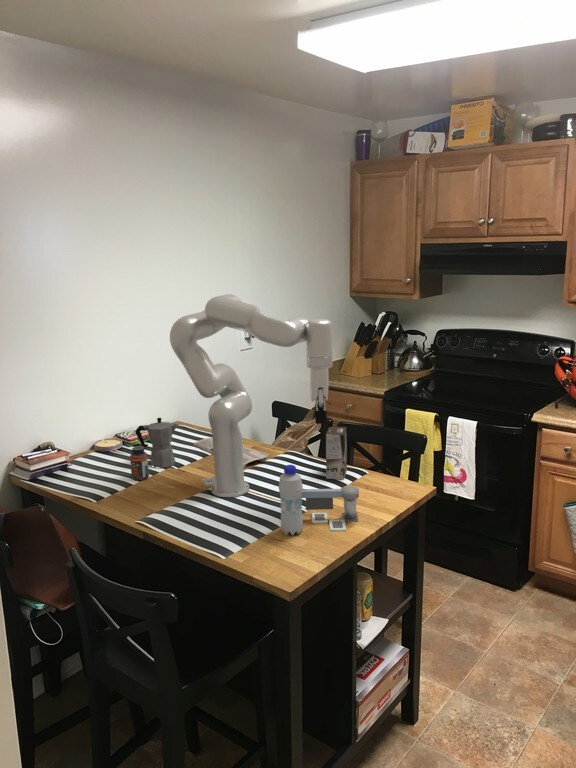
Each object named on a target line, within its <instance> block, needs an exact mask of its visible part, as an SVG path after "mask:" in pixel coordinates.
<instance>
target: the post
mask: <svg viewBox="0 0 576 768" xmlns="http://www.w3.org/2000/svg"><path fill="white" fill-rule="evenodd" d="M341 516H342V520H345V522H359V517H358V513H357V499H354V500H347V499H344V498H343V512H342V513H341Z"/></svg>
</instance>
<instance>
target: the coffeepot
mask: <svg viewBox="0 0 576 768" xmlns="http://www.w3.org/2000/svg"><path fill="white" fill-rule="evenodd" d="M156 421H157V422H153V423H149V424H144V425H138V427H137V428H136V429H135V435H136V437H137V438H138V441H139V443H140V446H143V447H144V448H148V447H149V444H147V443H145V440H144V438H143V436H142V433H141V432H142V431H145V432H147V433H148V438H149V441H150V444H151V447H152V448H151V452H150V460H149V461H150V463H149V465H150V464H151V465H153V466H154V467H160V468H159V469H165V468H164V467H167V468H170V467H173V466H174V465H175V464H174V463H176V459H175V455H174V454H175V453H174V451H173V447H172V445H171V442H172V440H173V434H174V433H175V431H176V429H177V427H179V425H178V424H177V423H174V422H173V423H171V422H169V421H162V417H157V418H156ZM151 465H150V466H151ZM172 465H173V466H172ZM169 466H170V467H169ZM154 467H153V468H154Z"/></svg>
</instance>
